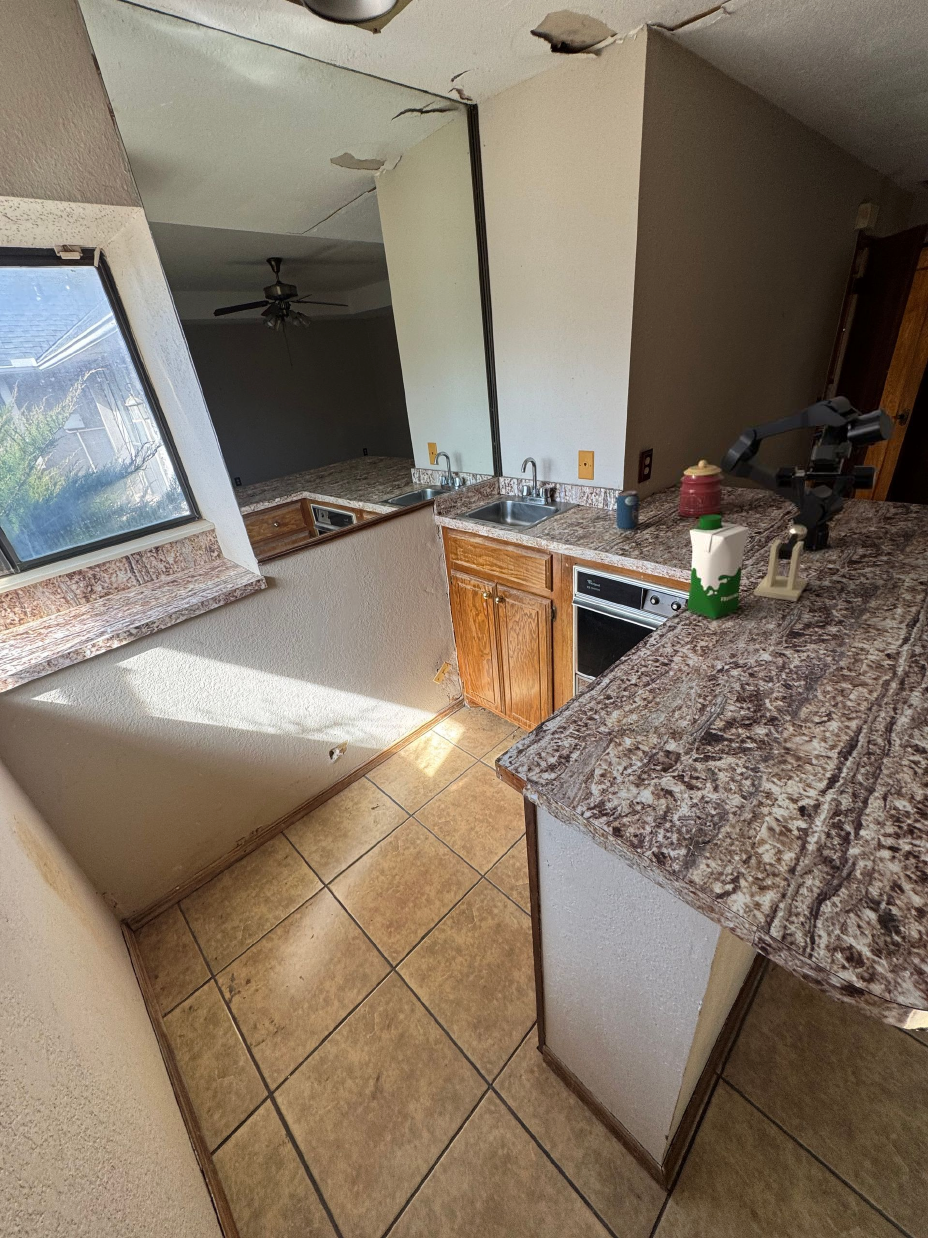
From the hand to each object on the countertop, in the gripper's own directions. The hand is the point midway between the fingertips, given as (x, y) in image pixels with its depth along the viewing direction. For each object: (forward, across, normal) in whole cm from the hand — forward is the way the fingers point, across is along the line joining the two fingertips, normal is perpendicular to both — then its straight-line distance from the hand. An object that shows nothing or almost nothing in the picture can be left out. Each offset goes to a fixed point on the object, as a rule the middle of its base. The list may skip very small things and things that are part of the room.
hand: (813, 509), depth 111 cm
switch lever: (+13, -1, -5) cm, 14 cm away
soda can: (-2, -53, +21) cm, 57 cm away
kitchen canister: (-18, -38, +37) cm, 56 cm away
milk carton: (+33, -10, -13) cm, 37 cm away
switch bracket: (+22, -1, -3) cm, 22 cm away
